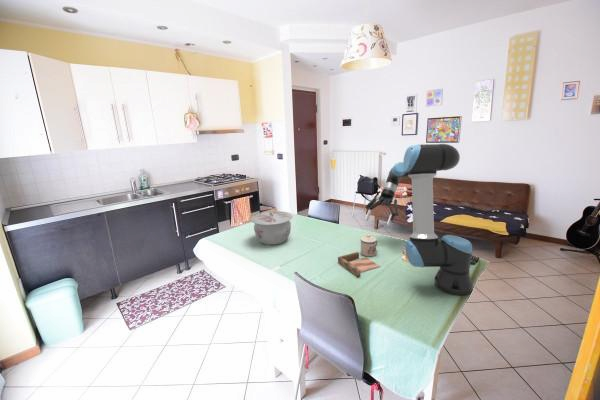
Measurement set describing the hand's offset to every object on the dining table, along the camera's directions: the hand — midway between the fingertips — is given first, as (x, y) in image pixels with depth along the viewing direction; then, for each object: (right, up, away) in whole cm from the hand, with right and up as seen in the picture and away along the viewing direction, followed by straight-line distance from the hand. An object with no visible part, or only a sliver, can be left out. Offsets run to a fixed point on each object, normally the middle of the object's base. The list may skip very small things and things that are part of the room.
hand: (376, 222), depth 165 cm
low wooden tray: (-13, -22, -15) cm, 30 cm away
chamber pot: (-63, -14, +23) cm, 69 cm away
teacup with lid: (-4, -18, -1) cm, 18 cm away
